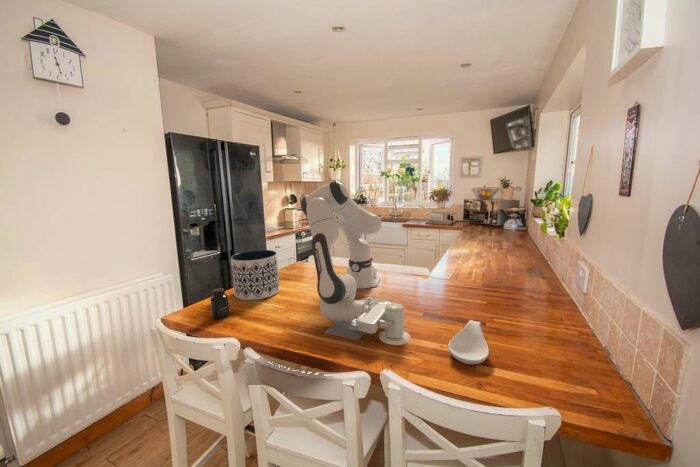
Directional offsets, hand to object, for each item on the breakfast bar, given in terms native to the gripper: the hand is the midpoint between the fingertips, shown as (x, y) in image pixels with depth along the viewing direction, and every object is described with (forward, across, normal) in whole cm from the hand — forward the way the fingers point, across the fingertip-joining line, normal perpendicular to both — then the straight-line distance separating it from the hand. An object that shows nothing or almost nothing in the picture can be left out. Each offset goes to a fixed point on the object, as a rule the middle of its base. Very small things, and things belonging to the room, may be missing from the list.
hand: (397, 319), depth 106 cm
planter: (-80, +18, +8) cm, 82 cm away
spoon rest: (+24, +3, +8) cm, 25 cm away
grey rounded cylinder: (-1, 0, +6) cm, 6 cm away
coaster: (-1, 0, +7) cm, 7 cm away
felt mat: (-19, 0, +7) cm, 20 cm away
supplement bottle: (-75, -10, +8) cm, 76 cm away
